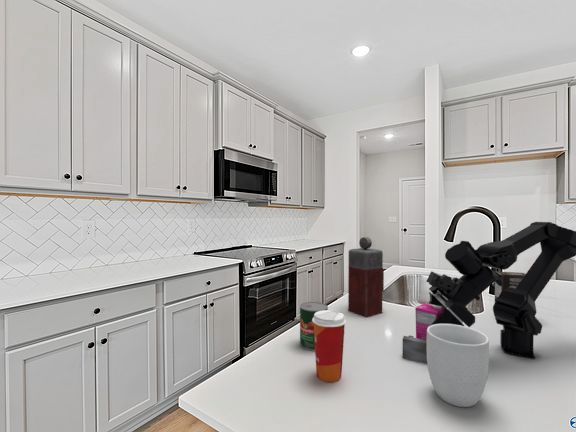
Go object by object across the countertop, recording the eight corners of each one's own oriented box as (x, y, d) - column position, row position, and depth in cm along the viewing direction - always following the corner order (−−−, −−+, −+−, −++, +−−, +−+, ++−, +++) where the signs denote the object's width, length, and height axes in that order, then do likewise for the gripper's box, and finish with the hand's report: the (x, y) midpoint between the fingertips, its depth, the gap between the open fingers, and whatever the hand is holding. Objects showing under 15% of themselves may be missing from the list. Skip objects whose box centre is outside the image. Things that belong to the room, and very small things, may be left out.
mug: (441, 369, 72) (441, 315, 72) (496, 388, 64) (497, 327, 64) (418, 398, 61) (418, 333, 61) (481, 424, 53) (482, 350, 53)
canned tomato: (329, 340, 88) (329, 302, 88) (325, 352, 81) (325, 311, 80) (303, 337, 90) (303, 300, 90) (296, 349, 83) (296, 308, 83)
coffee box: (501, 321, 104) (502, 274, 103) (493, 315, 110) (494, 270, 110) (532, 323, 102) (533, 275, 101) (522, 317, 108) (523, 272, 108)
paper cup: (323, 363, 75) (323, 307, 74) (352, 374, 70) (352, 314, 70) (305, 377, 69) (305, 315, 68) (334, 389, 64) (334, 323, 64)
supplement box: (424, 343, 84) (424, 302, 84) (447, 350, 80) (447, 307, 80) (414, 349, 80) (414, 306, 80) (437, 357, 76) (438, 312, 76)
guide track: (456, 354, 80) (457, 335, 80) (455, 370, 72) (456, 349, 72) (408, 343, 86) (408, 326, 86) (402, 357, 78) (402, 338, 78)
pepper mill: (386, 311, 113) (387, 237, 113) (366, 317, 107) (366, 238, 107) (368, 305, 121) (368, 235, 120) (347, 310, 115) (348, 236, 114)
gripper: (436, 256, 88) (396, 292, 90) (460, 268, 70) (409, 313, 72) (466, 284, 87) (425, 320, 89) (498, 304, 68) (445, 349, 71)
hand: (425, 324), depth 80 cm, fingers closed on supplement box, 8 cm apart
